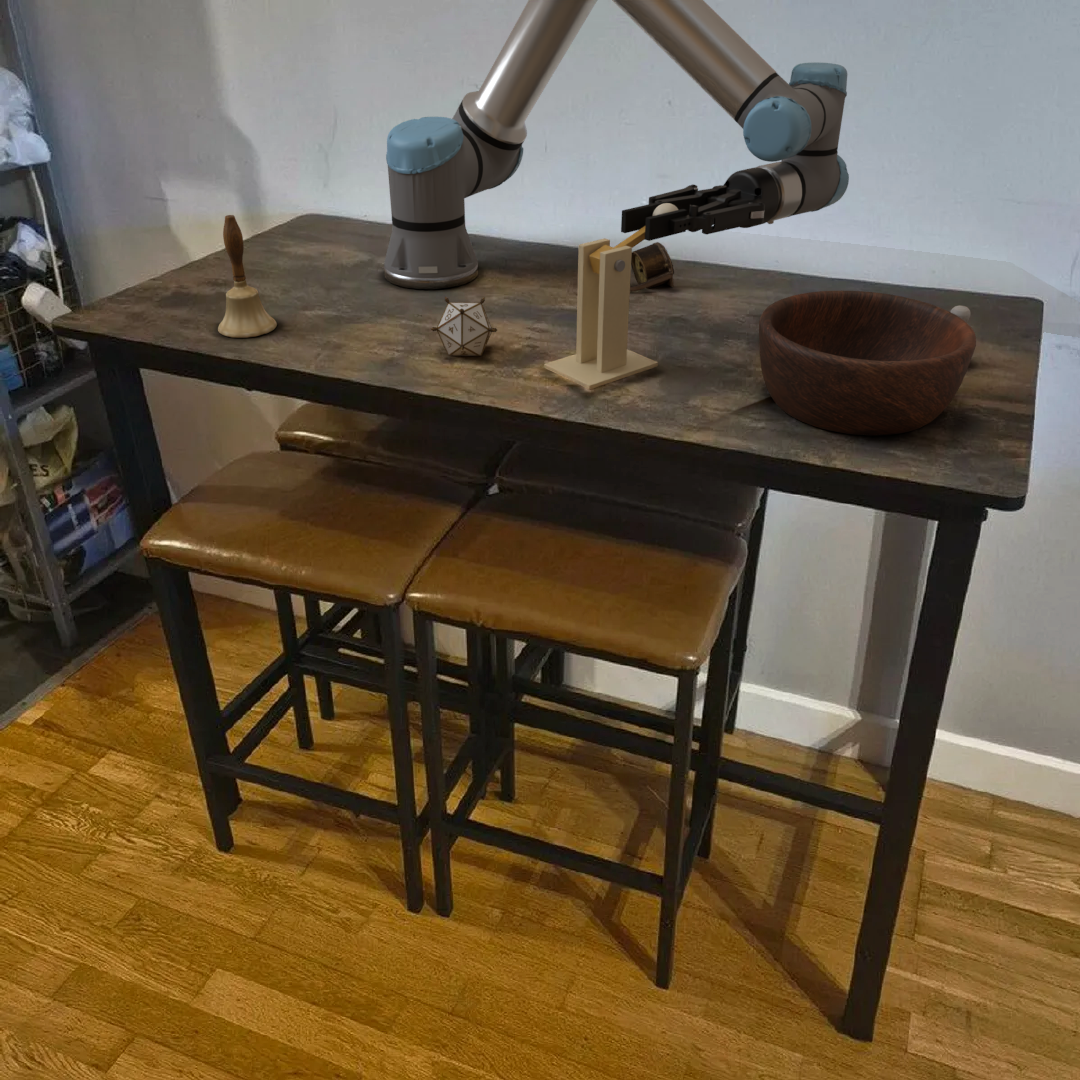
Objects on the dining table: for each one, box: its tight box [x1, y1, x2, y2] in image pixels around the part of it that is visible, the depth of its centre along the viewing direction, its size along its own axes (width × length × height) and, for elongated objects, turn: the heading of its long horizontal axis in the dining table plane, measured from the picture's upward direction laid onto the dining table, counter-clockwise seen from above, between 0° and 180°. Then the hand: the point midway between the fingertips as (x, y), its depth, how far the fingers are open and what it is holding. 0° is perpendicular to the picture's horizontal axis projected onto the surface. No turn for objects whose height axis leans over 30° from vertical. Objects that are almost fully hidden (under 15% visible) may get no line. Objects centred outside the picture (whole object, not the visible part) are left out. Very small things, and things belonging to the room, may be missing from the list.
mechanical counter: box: [630, 241, 675, 292], centre depth 166 cm, size 7×13×10 cm
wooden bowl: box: [758, 289, 977, 437], centre depth 129 cm, size 25×25×10 cm
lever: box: [589, 203, 678, 274], centre depth 133 cm, size 14×4×4 cm, turn 129°
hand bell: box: [217, 214, 278, 339], centre depth 149 cm, size 8×8×16 cm
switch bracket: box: [543, 238, 659, 391], centre depth 135 cm, size 12×9×17 cm
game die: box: [430, 296, 498, 357], centre depth 142 cm, size 9×8×10 cm
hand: (635, 225), depth 132 cm, fingers closed on lever, 4 cm apart
